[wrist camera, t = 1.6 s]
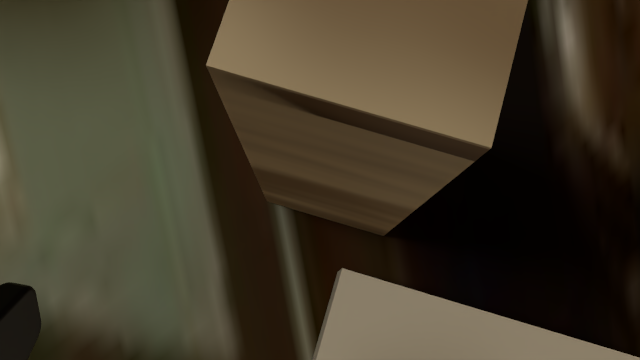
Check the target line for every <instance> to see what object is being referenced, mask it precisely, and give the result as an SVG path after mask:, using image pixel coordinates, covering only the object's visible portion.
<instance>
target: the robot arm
mask: <svg viewBox="0 0 640 360" xmlns="http://www.w3.org/2000/svg"><path fill="white" fill-rule="evenodd" d="M40 329H41V318H40V313H39V307H38V302H37V297H36V292H35V290H34V289H33V288H32V287H31V286H27V285H22V284H17V283H10V282H9V283H4V284H2V285H0V360H27V359H28V357H29V355H30V353H31V351H32V349H33V347H34V344H35V342H36V340H37V338H38V336H39V333H40Z"/></svg>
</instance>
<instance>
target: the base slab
mask: <svg viewBox="0 0 640 360" xmlns="http://www.w3.org/2000/svg"><path fill="white" fill-rule="evenodd" d="M313 360H640V358H639V357H635V356H632V355H629V354H625V353H622V352H619V351H615V350H612V349H609V348H605V347H602V346H599V345H596V344H592V343H589V342H586V341H582V340H579V339H576V338H572V337H569V336H566V335H562V334H559V333H556V332H552V331H549V330H546V329H542V328H539V327H536V326H532V325H529V324H526V323H522V322H519V321H516V320H512V319H509V318H506V317H503V316H499V315H496V314H493V313H489V312H486V311H483V310H479V309H476V308H473V307H469V306H466V305H463V304H459V303H456V302H453V301H449V300H446V299H443V298H439V297H436V296H433V295H429V294H426V293H423V292H419V291H416V290H413V289H409V288H406V287H403V286H400V285H396V284H393V283H390V282H386V281H383V280H380V279H376V278H373V277H370V276H366V275H363V274H360V273H356V272H353V271H350V270H346V269H343V268H342V269H341V270H340V271H338V273H337V276H336V280H335V283H334V287H333V290H332V294H331V297H330V301H329V304H328V308H327V311H326V315H325V318H324V321H323V325H322V328H321V332H320V335H319V339H318V342H317V346H316V349H315V353H314V356H313Z"/></svg>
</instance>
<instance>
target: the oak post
mask: <svg viewBox="0 0 640 360" xmlns="http://www.w3.org/2000/svg"><path fill="white" fill-rule="evenodd" d="M527 1H528V0H229V3H228V5H227V8H226V11H225V14H224V17H223V19H222V22H221V25H220V28H219V31H218V33H217V36H216V39H215V42H214V44H213V47H212V50H211V53H210V56H209V58H208V61H207V64H206V66H207V68H208V71H209V73H210V75H211V77H212V80H213V82H214V84H215V86H216V89H217V91H218V93H219V95H220V97H221V100H222V102H223V104H224V106H225V109H226V111H227V113H228V115H229V118H230V120H231V122H232V124H233V126H234V129H235V131H236V133H237V135H238V138H239V140H240V142H241V144H242V146H243V149H244V151H245V153H246V155H247V158H248V160H249V162H250V164H251V167H252V169H253V171H254V173H255V175H256V178H257V180H258V182H259V184H260V187H261V189H262V191H263V193H264V196H265V198H266V200H267V201H268V202H271V203H274V204H278V205H281V206H284V207H288V208H291V209H294V210H298V211H301V212H305V213H308V214H311V215H315V216H318V217H321V218H325V219H328V220H331V221H335V222H338V223H341V224H345V225H348V226H352V227H355V228H358V229H362V230H365V231H368V232H372V233H375V234H378V235H382V236H384V235H385V234H386V233H388V232H389V231H390V230H391V229H393V228H394V227H395V226H396V225H397V224H399V223H400V222H401V221H402V220H404V219H405V218H406V217H407V216H408V215H410V214H411V213H412V212H413V211H415V210H416V209H417V208H418V207H420V206H421V205H422V204H423V203H424V202H426V201H427V200H428V199H429V198H431V197H432V196H433V195H434V194H435V193H437V192H438V191H439V190H440V189H442V188H443V187H444V186H445V185H446V184H448V183H449V182H450V181H451V180H453V179H454V178H455V177H456V176H458V175H459V174H460V173H461V172H462V171H464V170H465V169H466V168H467V167H469V166H470V165H471V164H472V163H473V162H475V161H476V160H477V159H478V158H480V157H481V156H482V155H483V154H484V153H486V152H487V151H488V150H489V149H491V147H492V143H493V139H494V135H495V131H496V127H497V123H498V119H499V115H500V111H501V107H502V103H503V99H504V95H505V91H506V86H507V82H508V78H509V74H510V70H511V66H512V62H513V58H514V54H515V50H516V46H517V42H518V38H519V34H520V30H521V25H522V21H523V17H524V13H525V9H526V5H527Z"/></svg>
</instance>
